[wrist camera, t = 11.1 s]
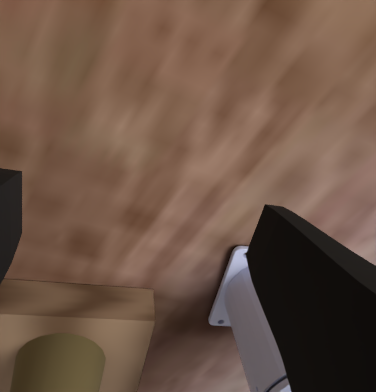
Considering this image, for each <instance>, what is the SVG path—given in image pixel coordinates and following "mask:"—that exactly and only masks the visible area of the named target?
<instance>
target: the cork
mask: <svg viewBox="0 0 376 392" xmlns="http://www.w3.org/2000/svg"><path fill="white" fill-rule="evenodd" d="M105 360H106V357H105V355H104V352H103V350H102V349H101V348H100V347H99V346H98V345H97V344H96V343H95V342H94V341H92V340H90V339H88V338H86V337H83V336H79V335H75V334H70V333H54V334H49V335H44V336H40V337H37V338H35V339H33V340H31V341H29V342H27V343H26V344H25V345H24V346H23V347H22V348H20V350H19V352H18V354H17V356H16V359H15V365H14V370H13V376H12V382H11V388H10V392H99V390H100V385H101V381H102V376H103V372H104V367H105Z"/></svg>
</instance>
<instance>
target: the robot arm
mask: <svg viewBox="0 0 376 392" xmlns="http://www.w3.org/2000/svg"><path fill="white" fill-rule="evenodd" d="M21 234H22V171H16V170H8V169H1V168H0V284H1V282H2V281H3V279H4V277H5V275H6V273H7V271H8V269H9V267H10V265H11V263H12V260H13V257H14V254H15V252H16V249H17V246H18V243H19V240H20V237H21ZM246 252H247V253H246ZM244 253H246V254H244ZM208 320H209V324H210V325H213V326H231V327H232V331H233V334H234V338H235V341H236V344H237V348H238V351H239V355H240V358H241V361H242V365H243V368H244V371H245V375H246V378H247V382H248V385H249V388H250V392H376V266H375V265H373V264H372V263H370V262H368V261H367V260H365V259H364V258H362V257H360V256H359V255H357V254H356V253H354V252H352V251H351V250H349V249H348V248H346V247H345V246H343V245H342V244H340V243H339V242H337V241H336V240H334V239H333V238H331V237H330V236H328V235H327V234H325V233H324V232H322V231H321V230H319V229H318V228H316V227H315V226H313V225H312V224H311V223H309V222H308V221H306V220H305V219H303V218H301V217H300V216H298V215H297V214H295V213H293V212H292V211H290V210H288V209H286V208H284V207H281V206H274V205H266V204H265V206H264V209H263V211H262V214H261V216H260V219H259V222H258V224H257V227H256V229H255V232H254V235H253V237H252V240H251V242H250V245H249V247H247V246H238V247H236V248H234V250H233V252H232V254H231V257H230V260H229V263H228V265H227V268H226V271H225V274H224V276H223V279H222V282H221V285H220V288H219V290H218V293H217V296H216V299H215V301H214V304H213V307H212V310H211V312H210V315H209V318H208Z"/></svg>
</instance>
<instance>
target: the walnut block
mask: <svg viewBox="0 0 376 392" xmlns="http://www.w3.org/2000/svg"><path fill="white" fill-rule="evenodd" d="M154 325H155V309H154V293H153V289H143V288H129V287H114V286H100V285H85V284H71V283H56V282H41V281H27V280H12V279H3V281H2V282H1V284H0V392H10V388H11V382H12V376H13V370H14V365H15V359H16V356H17V354H18V352H19V350H20V348H22V347H23V346H24V345H25V344H26V343H27V342H29V341H31V340H33V339H35V338H37V337H40V336H44V335H49V334H54V333H70V334H75V335H79V336H83V337H86V338H88V339H90V340H92V341H94V342H95V343H96V344H97V345H98V346H99V347H100V348H101V349H102V350H103V352H104V355H105V357H106V360H105V367H104V372H103V376H102V381H101V385H100V390H99V392H137V390H138V386H139V382H140V378H141V374H142V371H143V367H144V363H145V359H146V355H147V351H148V348H149V344H150V340H151V336H152V332H153V328H154Z"/></svg>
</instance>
